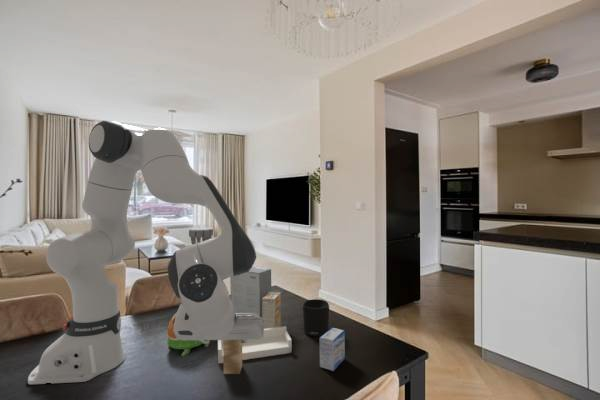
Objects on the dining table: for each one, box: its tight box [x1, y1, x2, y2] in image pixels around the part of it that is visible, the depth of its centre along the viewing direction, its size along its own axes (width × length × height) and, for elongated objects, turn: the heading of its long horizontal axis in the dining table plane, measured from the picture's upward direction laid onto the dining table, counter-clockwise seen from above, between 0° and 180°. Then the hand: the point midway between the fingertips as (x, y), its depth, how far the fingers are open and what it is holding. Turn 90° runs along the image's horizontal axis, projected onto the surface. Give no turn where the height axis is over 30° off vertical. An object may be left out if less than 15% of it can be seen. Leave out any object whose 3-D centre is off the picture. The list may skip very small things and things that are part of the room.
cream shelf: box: [217, 325, 293, 364], centre depth 96 cm, size 22×8×5 cm, turn 106°
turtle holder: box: [166, 310, 210, 357], centre depth 103 cm, size 12×18×12 cm
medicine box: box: [319, 327, 346, 372], centre depth 90 cm, size 8×4×9 cm, turn 148°
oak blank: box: [223, 340, 243, 375], centre depth 86 cm, size 4×4×10 cm
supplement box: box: [262, 291, 282, 329], centre depth 111 cm, size 8×5×13 cm, turn 168°
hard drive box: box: [229, 266, 272, 319], centre depth 122 cm, size 16×8×20 cm, turn 58°
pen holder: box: [302, 298, 330, 338], centre depth 110 cm, size 9×9×10 cm
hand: (225, 340), depth 78 cm, fingers open, 8 cm apart
